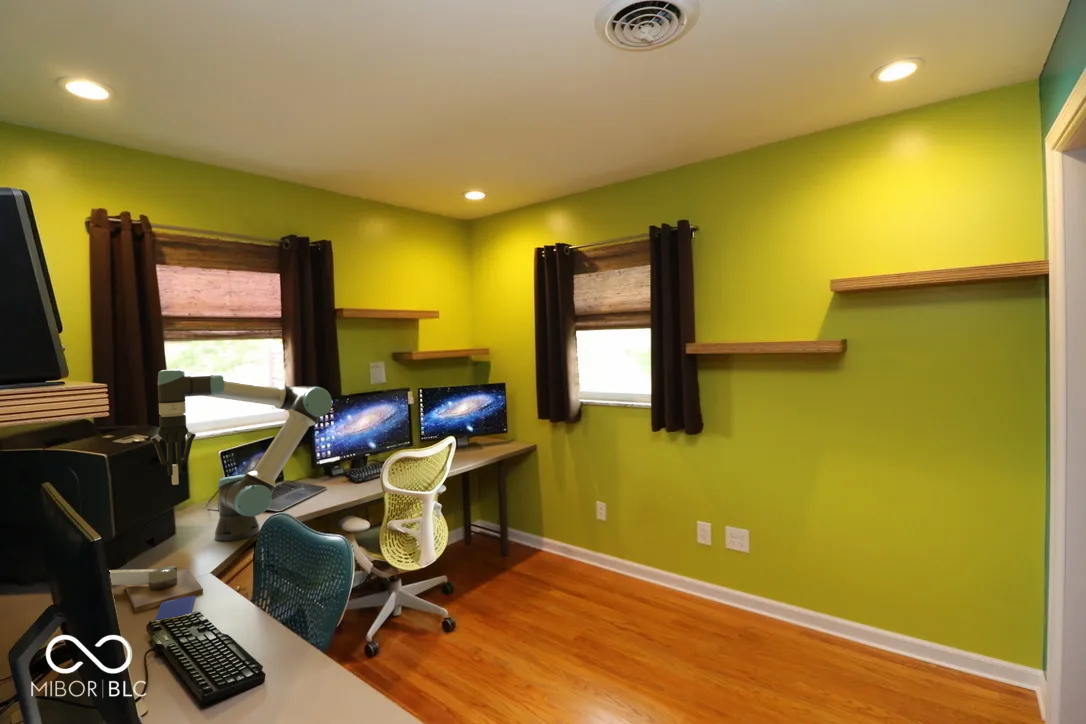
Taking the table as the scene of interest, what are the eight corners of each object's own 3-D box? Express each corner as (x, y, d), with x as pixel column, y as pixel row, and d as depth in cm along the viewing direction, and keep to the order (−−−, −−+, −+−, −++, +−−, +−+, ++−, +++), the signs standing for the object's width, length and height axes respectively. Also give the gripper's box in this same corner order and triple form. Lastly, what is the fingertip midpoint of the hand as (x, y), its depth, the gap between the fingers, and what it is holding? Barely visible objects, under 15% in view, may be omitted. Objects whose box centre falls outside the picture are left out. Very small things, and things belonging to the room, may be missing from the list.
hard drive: (161, 601, 153) (153, 620, 142) (195, 595, 157) (191, 613, 146) (161, 607, 153) (154, 626, 142) (195, 600, 157) (191, 618, 146)
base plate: (187, 572, 176) (187, 567, 176) (203, 593, 160) (203, 588, 160) (125, 588, 165) (124, 583, 165) (135, 612, 149) (135, 606, 149)
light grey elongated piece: (183, 579, 166) (182, 562, 166) (166, 590, 159) (166, 572, 159) (107, 581, 166) (106, 564, 166) (88, 591, 159) (87, 573, 159)
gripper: (151, 417, 179) (153, 489, 179) (197, 413, 188) (199, 482, 188) (147, 416, 184) (150, 485, 185) (192, 412, 193) (195, 478, 194)
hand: (175, 483), depth 186 cm, fingers closed
